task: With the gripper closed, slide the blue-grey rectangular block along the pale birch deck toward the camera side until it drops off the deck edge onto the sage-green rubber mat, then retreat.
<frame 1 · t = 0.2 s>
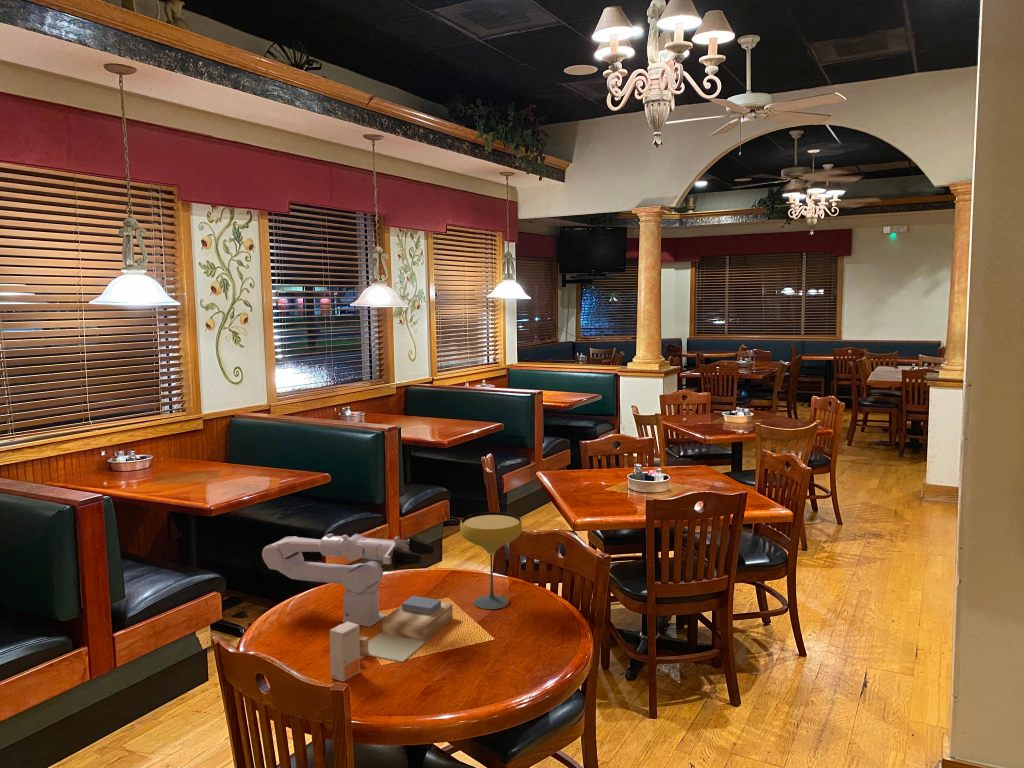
hand: (426, 554, 205), 21 cm above the table, tool horizontal, fingers open, 7 cm apart
cocktail glass: (491, 603, 226), on the table
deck: (418, 625, 210), on the table
blue-grey rectangular block: (421, 608, 212), point 4 cm above the table, touching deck
skincare box: (346, 675, 182), on the table
mat: (391, 647, 197), on the table
oak rack: (353, 657, 192), on the table
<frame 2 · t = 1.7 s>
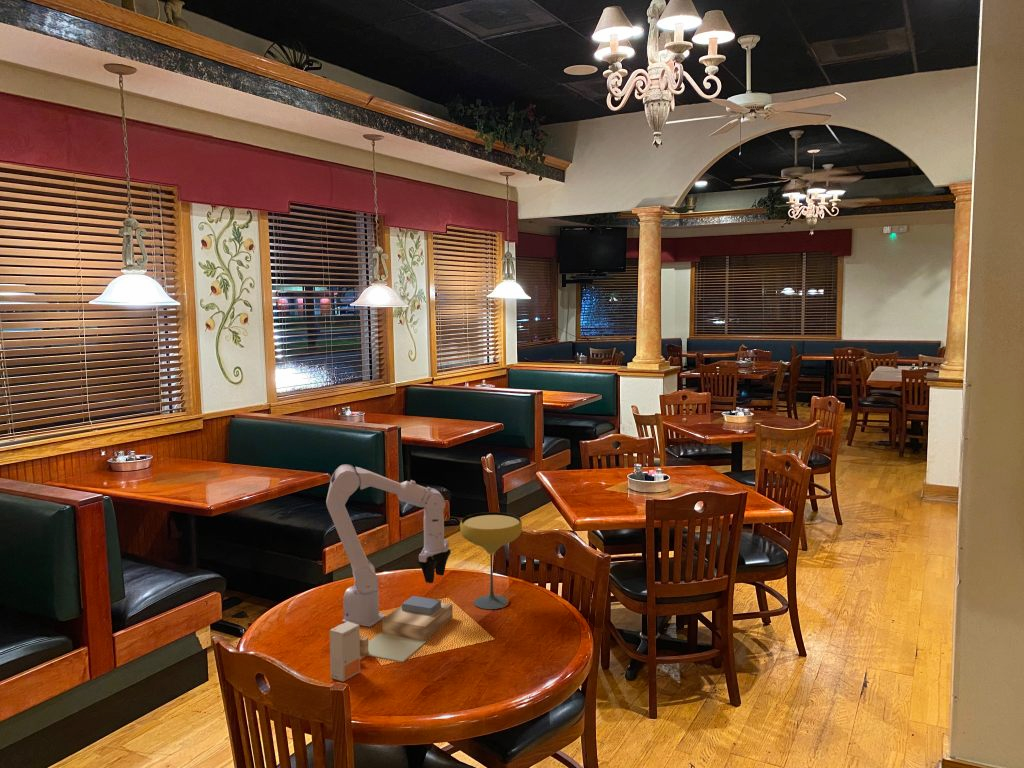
hand: (434, 578, 218), 10 cm above the table, tool pointing down, fingers open, 6 cm apart
nothing on the table moved.
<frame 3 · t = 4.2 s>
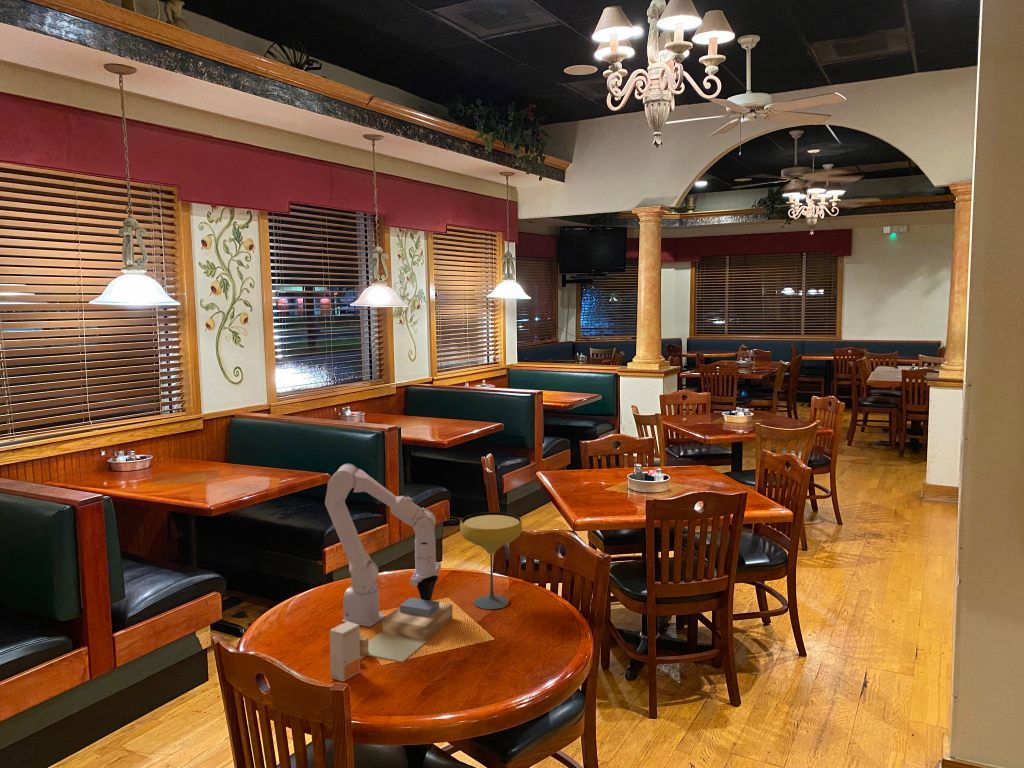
hand: (426, 602, 214), 5 cm above the table, tool pointing down, fingers closed
blue-grey rectangular block: (419, 610, 210), point 4 cm above the table, touching gripper
everything else where it was.
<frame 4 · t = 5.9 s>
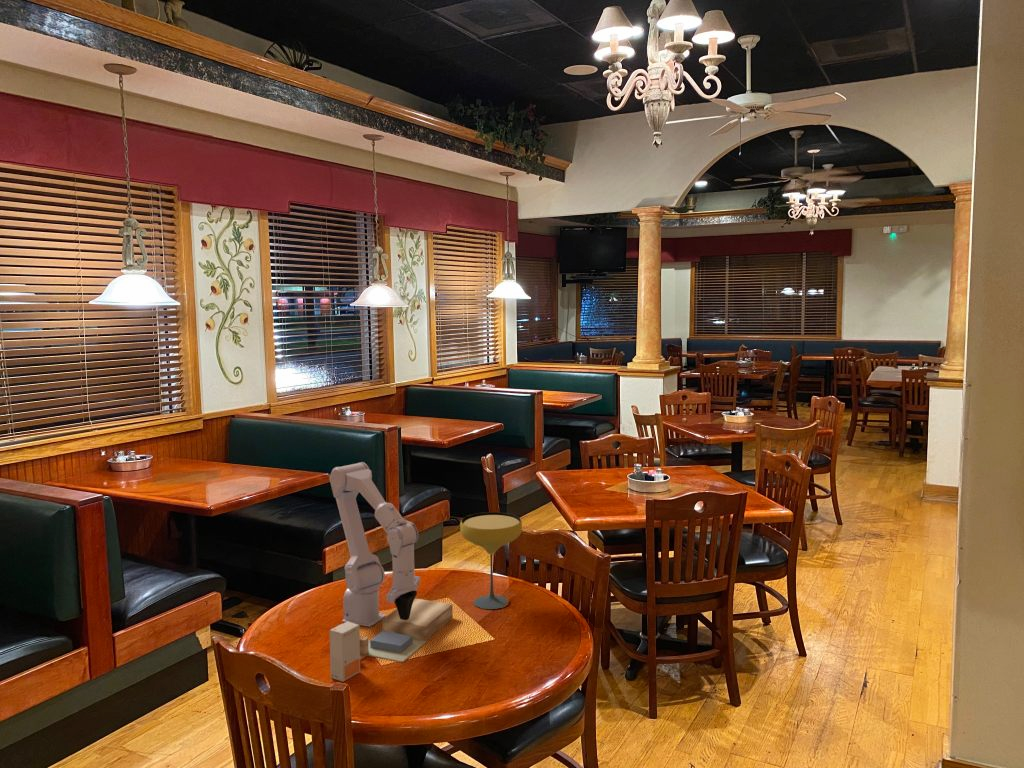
hand: (404, 618, 203), 5 cm above the table, tool pointing down, fingers closed
blue-grey rectangular block: (391, 638, 197), point 2 cm above the table, tilted 180°, touching mat
everything else where it was.
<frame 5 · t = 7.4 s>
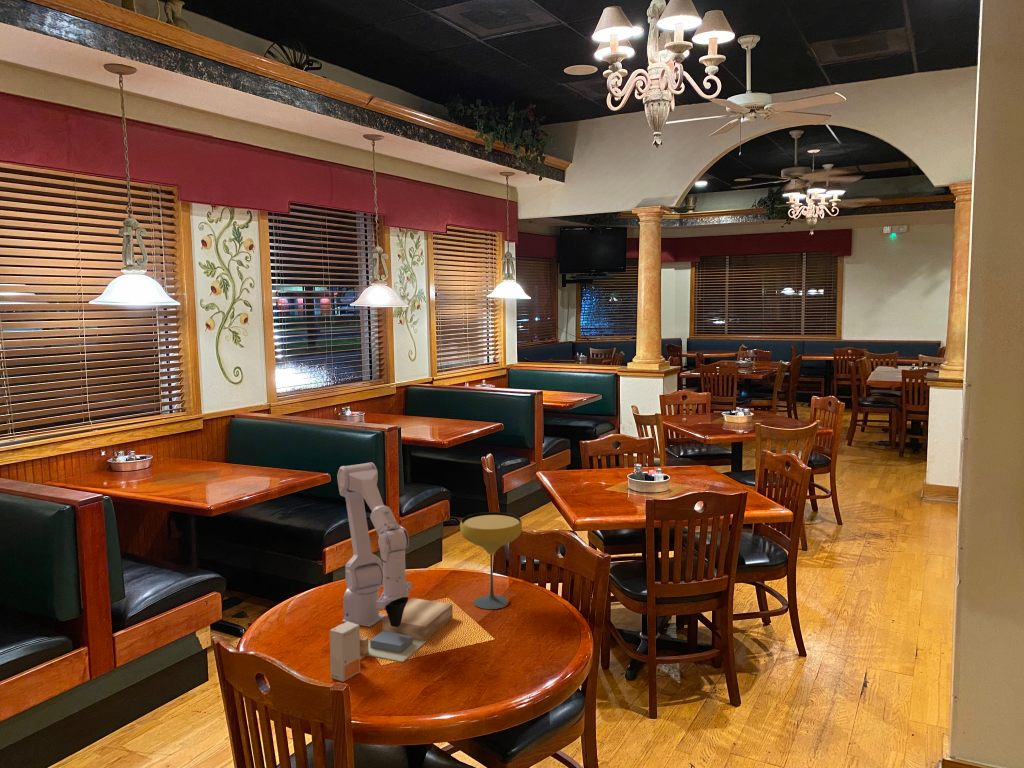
hand: (395, 625, 199), 5 cm above the table, tool pointing down, fingers closed
nothing on the table moved.
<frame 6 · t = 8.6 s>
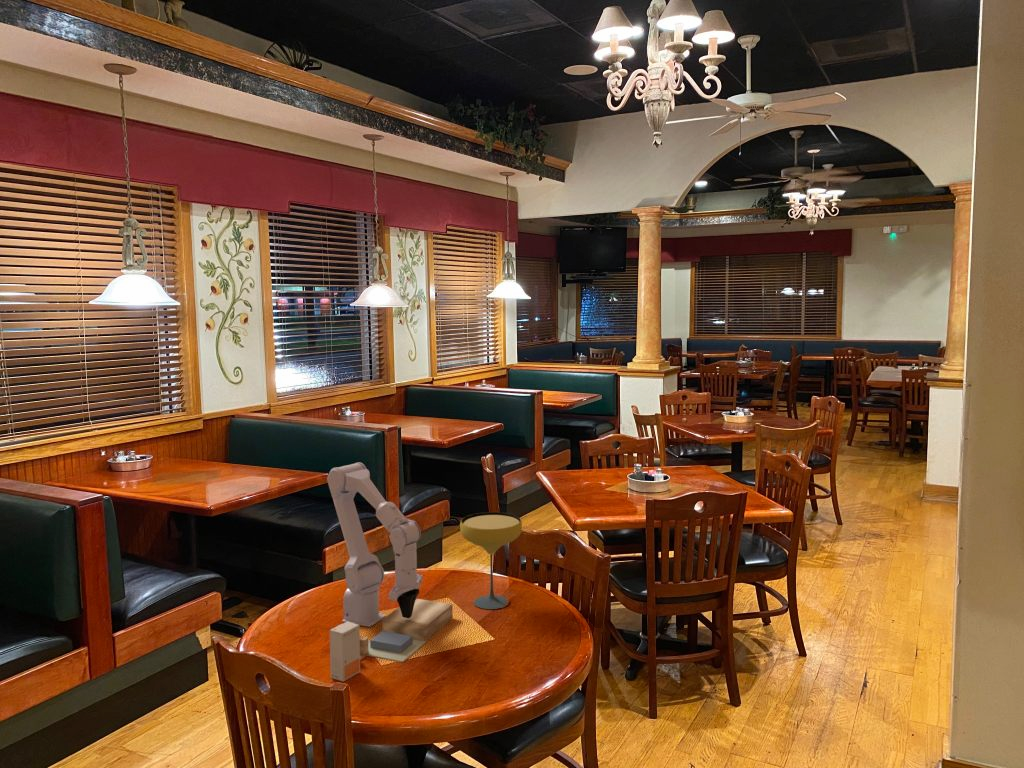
hand: (407, 616, 204), 5 cm above the table, tool pointing down, fingers closed
nothing on the table moved.
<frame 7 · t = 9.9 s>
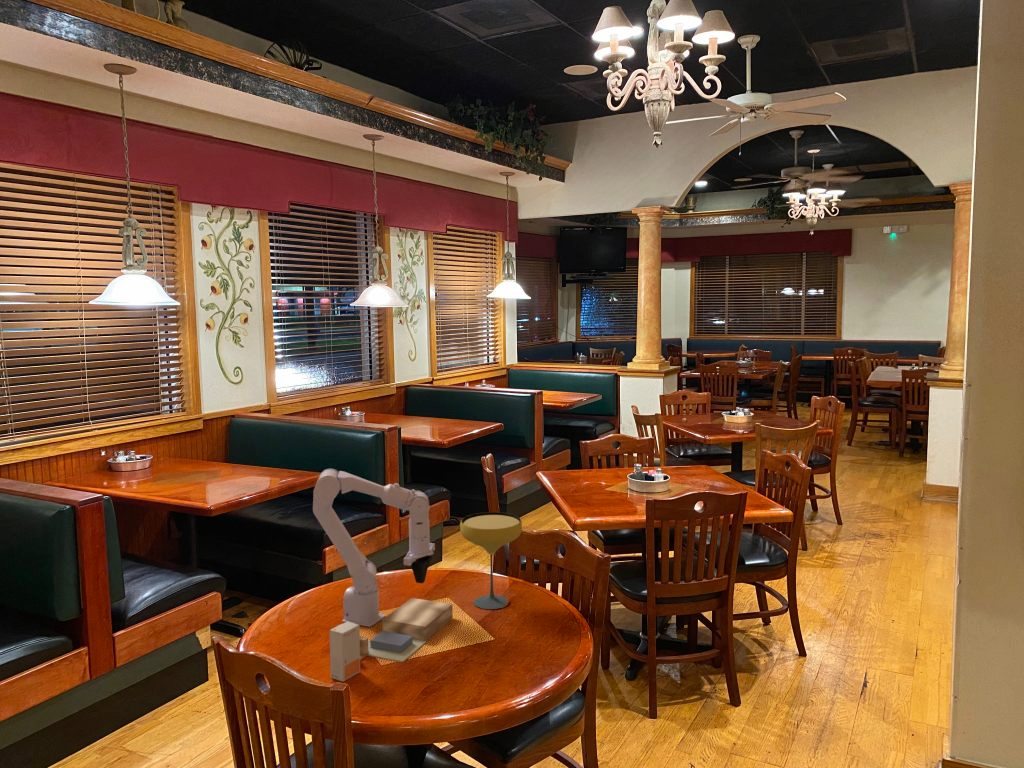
hand: (420, 582, 215), 10 cm above the table, tool pointing down, fingers closed
nothing on the table moved.
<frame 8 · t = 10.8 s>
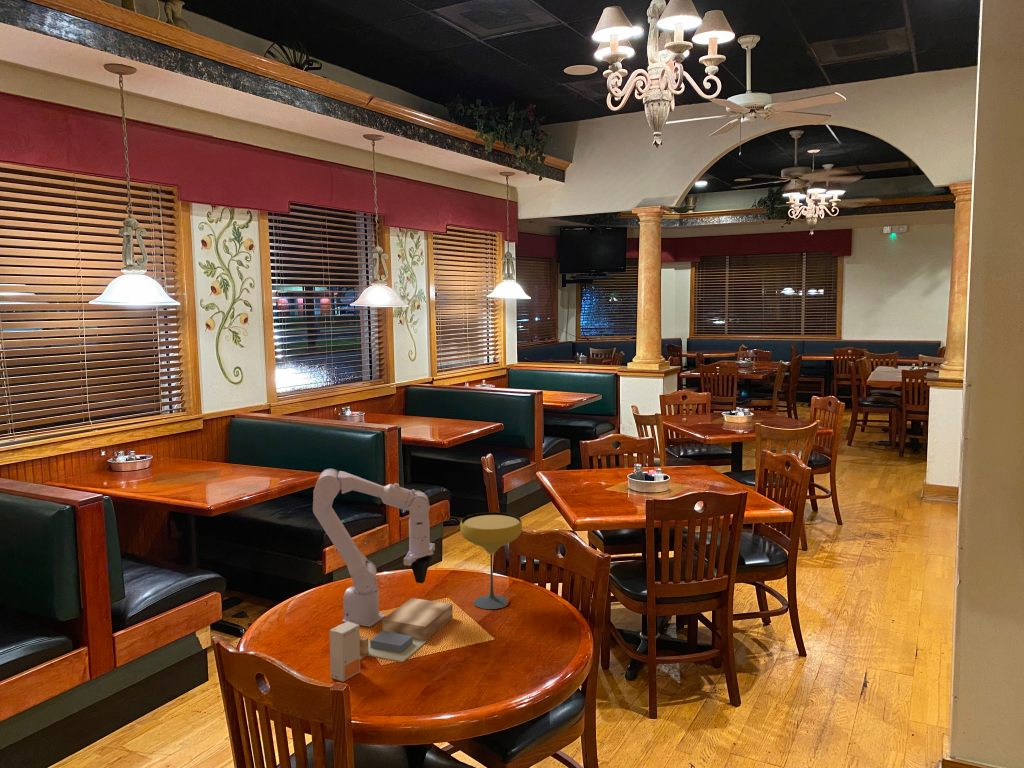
hand: (420, 582, 215), 10 cm above the table, tool pointing down, fingers closed
nothing on the table moved.
at the end: blue-grey rectangular block point 2.3 cm above the table; blue-grey rectangular block inside the target area on the mat (0.6 cm from its centre), point 2.3 cm above the mat's base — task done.
